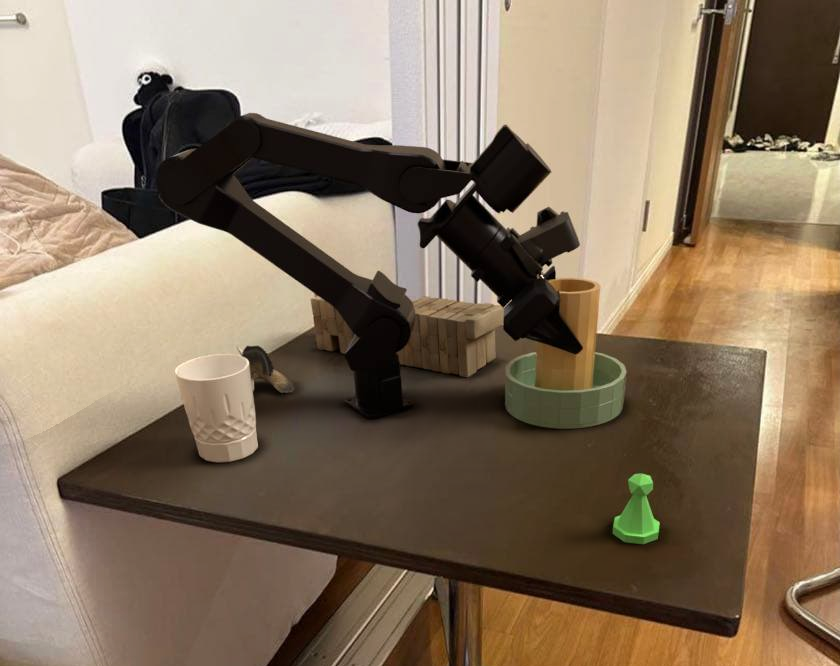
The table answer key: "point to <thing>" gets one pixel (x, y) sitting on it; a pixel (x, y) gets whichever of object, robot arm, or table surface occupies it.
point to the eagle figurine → (265, 369)
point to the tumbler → (582, 317)
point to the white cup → (219, 405)
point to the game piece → (637, 514)
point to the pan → (565, 395)
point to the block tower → (427, 334)
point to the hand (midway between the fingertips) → (577, 340)
